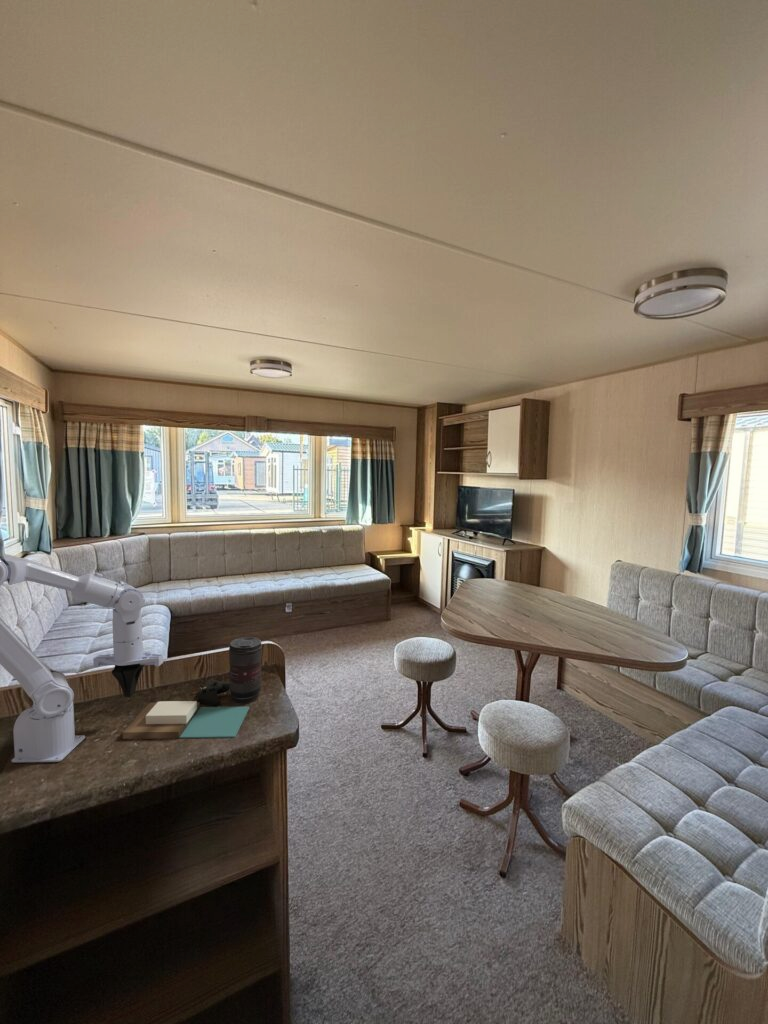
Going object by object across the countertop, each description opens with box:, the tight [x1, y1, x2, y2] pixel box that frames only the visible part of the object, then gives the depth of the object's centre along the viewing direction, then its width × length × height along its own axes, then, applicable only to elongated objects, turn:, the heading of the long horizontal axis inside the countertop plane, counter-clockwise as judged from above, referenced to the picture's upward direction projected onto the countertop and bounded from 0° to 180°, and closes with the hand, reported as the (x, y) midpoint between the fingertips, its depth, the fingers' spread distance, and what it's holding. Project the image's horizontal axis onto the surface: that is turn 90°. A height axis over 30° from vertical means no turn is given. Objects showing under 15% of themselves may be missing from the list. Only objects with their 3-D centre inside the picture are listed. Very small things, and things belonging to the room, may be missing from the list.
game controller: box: [196, 680, 230, 707], centre depth 110 cm, size 10×5×6 cm
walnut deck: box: [121, 702, 201, 740], centre depth 98 cm, size 12×12×2 cm
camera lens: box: [228, 636, 263, 705], centre depth 109 cm, size 8×8×15 cm
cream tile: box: [146, 700, 198, 724], centre depth 98 cm, size 9×6×2 cm, turn 93°
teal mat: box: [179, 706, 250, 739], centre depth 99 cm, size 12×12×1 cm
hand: (129, 694), depth 97 cm, fingers closed
